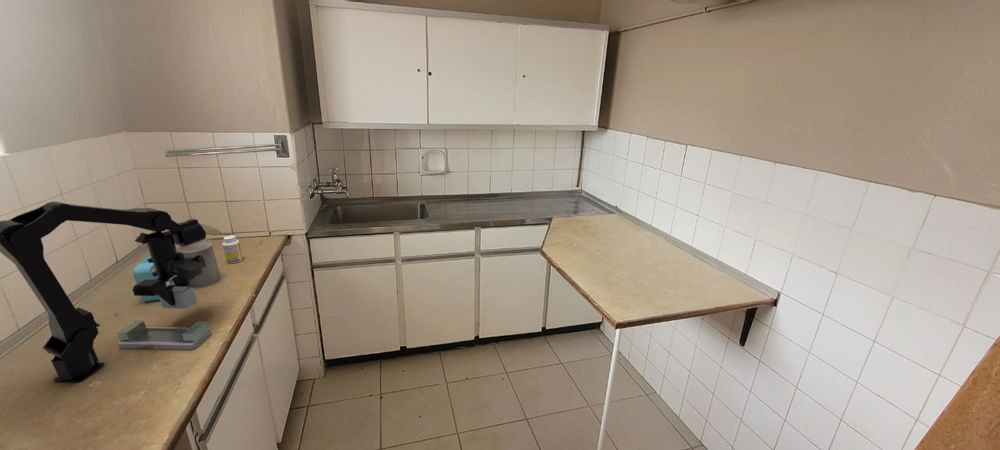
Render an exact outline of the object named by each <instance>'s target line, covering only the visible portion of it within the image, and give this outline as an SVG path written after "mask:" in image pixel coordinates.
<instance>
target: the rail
mask: <svg viewBox="0 0 1000 450" xmlns="http://www.w3.org/2000/svg"><path fill="white" fill-rule="evenodd" d="M116 334H117V337H118V340H119V341H117V345H118V347H119V349H123V350H124V349H125V350H130V349H131V350H132V349H133V350H171V351H172V350H173V351H174V350H175V351H176V350H179V351H180V350H181V351H183V350H185V351H194V350H196V349H197V348H198V347H199V346H200V345H201V344H202V343H203V342H204V341H206V340H207V339H208V338H209V337H210V336H211V335H213V333H212V330H211V327H208V325H207V322H206V321H196V322H195V323H194V324H192V325H191V326H190V327H172V326H171V327H169V326H168V327H164V326H161V327H160V326H159V327H158V326H146V323H145V321H144V320H134V321H132V322H130V323H129V324H128V325H126V326H125V327H123V328H121V329H120V330H119V331H118V332H116ZM205 339H206V340H205Z"/></svg>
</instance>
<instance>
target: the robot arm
mask: <svg viewBox="0 0 1000 450" xmlns="http://www.w3.org/2000/svg"><path fill="white" fill-rule="evenodd" d="M68 221H70V222H71V221H72V222H81V223H85V222H86V223H97V224H108V225H122V226H129V227H130V226H131V227H134V228H139V229H143V230H147V231H152V232H150V233H145V232H140V234H139V235H138V236H137V238H135V240H134V242H135V243H139V244H143V245H145V244H146V246H147V249H148V252H149V255H150V256H151V258H149V259H148V262H149V263H153V264H154V267H155V271H154V272H153V273H152V275H153V276H158V277H159V278H157V279H156V280H148V279H145V280H144V281H142V282H140V283H138V284H135V285H134V286H133V287H132V288H131V289H132V292H133V294H134V297H136V296H137V297H138V296H139V297H141V296H155V295H158V296H160V297H161V298H162V299H164V300H165V301H166V302H167V303H168V304H170V305H171V306H174V305H175V299H174V295H173V291H172V290H173V288H174V287H175V286H189V281H190V280H191V279H194V278H195V277H196V276H198V275H200V274H201V273H202V268H203V267H205V266H206V264H205V260H204V258H203V256H201V255H197V256H195V257H185V258H184V256H183V254H182V253H181V252H178V248H177V247H176V245H178V246H179V247H181V246H182V247H183V246H187V245H190V244H193V243H196V242H199V241H205V240H206V238H207V233H206V230H205V229H204V227H203V225H201V224H200V223H199V220H198V219H195V218H191V219H188V220H185V221H182V222H179V223H177V222H176V221H174V220H173V219H172V216H171V215H170V214H169V213H168V212H167V211H164V210H159V209H155V208H151V207H150V208H149V207H141V208H140V207H138V208H128V209H119V208H118V209H117V208H110V207H101V206H100V207H99V206H89V205H80V204H73V203H72V204H71V203H63V202H59V201H50V202H47V203H45V204H44V205H41V206H39V207H37V208H35V209H32V210H29V211H25V212H24V213H20V214H18V215H16V216H14V217H12V218H10V219H7V220H0V253H1V254H2V255H3V256H4V257H6V259H8V260H9V261H11V262H12V263H13V264H14V265H15V267H16V268H17V270H18V272H19V273H20V274H21V275H22V277H23V279H24V280H25V282H26V283H27V285H28V286H29V287H30V289H31V291H32V292H33V293H34V295H35V297H36V298H37V299H38V302H39V303H40V304H41V306H42V307H43V308H44V310H45V312H46V313H47V315H48V327H49V329H50V332H51V335H50V337H49V339H48V340H47V341H46V343H45V344H44V345H43V347H42V350H43V351H45V352H47V353H48V354H51V355H53V358H52V359H50V361H51V364H52V366H53V368H54V370H55V372H56V375H57V377H55V378H54V379H53V382H54V383H80V382H83V381H84V380H86V379H87V378H88V377H89V376H91V375H92V374H94V372H97V371H98V370H99V369H100V368H102V367H103V366H105V362H99V358H98V355H97V354H96V350H95V348H94V344H95V343H94V341H95V340H96V337H97V336H98V335H99V330H98V328H99V327H100V326H101V325H100V324H99V323H97V322H96V320H95V318H94V315H93V313H92V312H91V311H88V310H86V309H83V308H81V307H75V306H74V304H73V302H72V301H71V299H70V298H69V295H68V294H67V293H66V292H65V290H64V288H63V286H62V285H61V283H60V281H58V279H57V277H56V275H55V273H54V272H53V271H52V269H51V268H50V266H49V264H48V263H47V260H46V259H45V257H44V255H45V253H44V252H45V251H44V243H43V241H42V239H43V238H44V237H46V236H48V235H49V234H51V233H52V232H54V231H55V230H56V229H57V228H58V227H59V226H61V225H62V224H63V223H65V222H68ZM170 279H172V281H173V285H170Z"/></svg>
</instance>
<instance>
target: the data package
mask: <svg viewBox="0 0 1000 450" xmlns="http://www.w3.org/2000/svg"><path fill="white" fill-rule="evenodd" d="M149 258H151V255H150V256H146V257H144V259H143V260H142V261H141V262H139V263H138V265H136V266H135V267H134V268H133V270H132V274H133V277H134V281H135V283H136V284H138V283H140V282H142V281H144V280H145V279H148V280H156V279H157V278H159V277H158V276H153V275H152V273H153V272H154V271H155V267H154V264H153V263H149V262H148V259H149ZM136 284H135V285H136ZM171 284H173V285H174V282H173V281H172V279H170V285H171ZM140 298H141V301H142V302H144V303H147V302H154V301H160V298H159V296H158V295H155V296H140Z"/></svg>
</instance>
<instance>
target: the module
mask: <svg viewBox="0 0 1000 450" xmlns="http://www.w3.org/2000/svg"><path fill="white" fill-rule="evenodd" d="M194 289H195V288H193V286H175V287H174V288H173V290H172V291H173V295H174V299H175V305H174V306H171V305H170V304H168V303H167V302H166V301H165V300H164V299H162V298H161V297H160V296H159V298H160V300H159V301H160V303H161V307H162V308H163V309H188V308H190V307H191V306H192V304H193V305H195V304H196V303H197V302H198V301H197V300H198V299H197V297H196V294H195V290H194ZM195 302H196V303H195ZM194 303H195V304H194Z"/></svg>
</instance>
